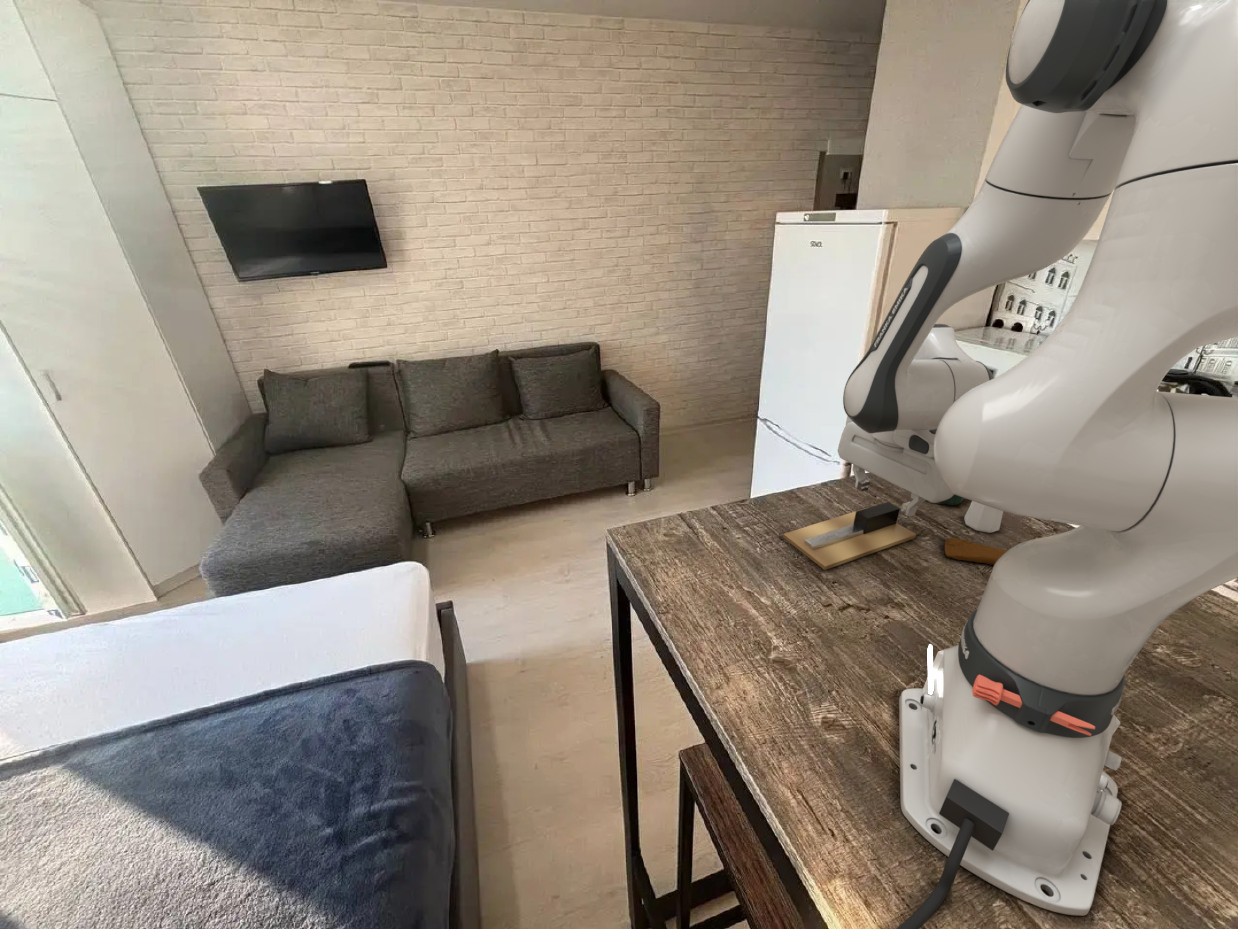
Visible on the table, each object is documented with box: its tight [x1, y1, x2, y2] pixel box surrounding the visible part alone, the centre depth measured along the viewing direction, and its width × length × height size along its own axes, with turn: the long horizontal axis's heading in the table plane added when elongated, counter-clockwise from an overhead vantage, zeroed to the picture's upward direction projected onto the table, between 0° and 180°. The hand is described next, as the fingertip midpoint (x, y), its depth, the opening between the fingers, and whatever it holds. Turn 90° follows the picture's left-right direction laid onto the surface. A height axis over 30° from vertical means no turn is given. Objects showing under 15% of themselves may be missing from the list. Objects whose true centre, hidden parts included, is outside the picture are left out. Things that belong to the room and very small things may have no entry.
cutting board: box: [782, 506, 917, 571], centre depth 88 cm, size 20×10×1 cm, turn 113°
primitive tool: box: [944, 537, 1008, 566], centre depth 79 cm, size 19×6×4 cm, turn 61°
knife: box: [804, 501, 901, 550], centre depth 87 cm, size 18×3×3 cm, turn 113°
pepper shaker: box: [963, 501, 1004, 534], centre depth 88 cm, size 5×5×11 cm
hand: (883, 501), depth 87 cm, fingers open, 8 cm apart
